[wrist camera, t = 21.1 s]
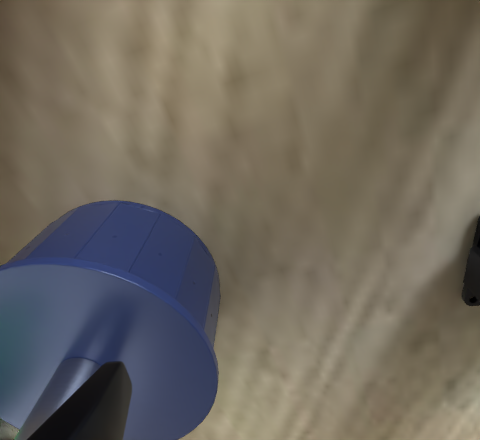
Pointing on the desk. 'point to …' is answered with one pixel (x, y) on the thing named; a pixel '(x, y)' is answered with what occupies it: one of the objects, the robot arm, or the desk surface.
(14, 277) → the lid
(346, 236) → the desk surface
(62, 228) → the blue short hollow cylinder
